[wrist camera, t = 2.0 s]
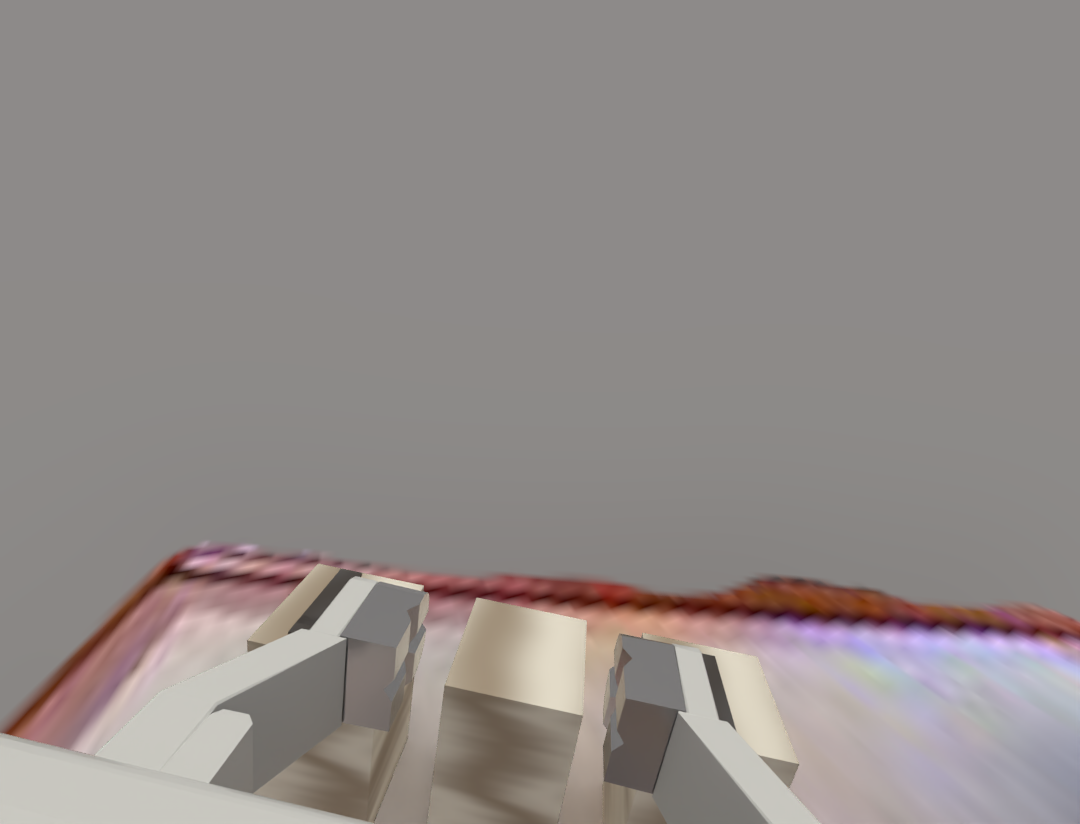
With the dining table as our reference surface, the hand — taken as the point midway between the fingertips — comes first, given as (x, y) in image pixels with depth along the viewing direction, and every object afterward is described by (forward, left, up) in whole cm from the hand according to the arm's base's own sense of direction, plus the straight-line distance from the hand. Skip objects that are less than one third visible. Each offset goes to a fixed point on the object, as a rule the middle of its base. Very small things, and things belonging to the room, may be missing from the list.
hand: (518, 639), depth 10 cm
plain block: (-4, -11, -22) cm, 25 cm away
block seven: (+5, -14, -22) cm, 27 cm away
